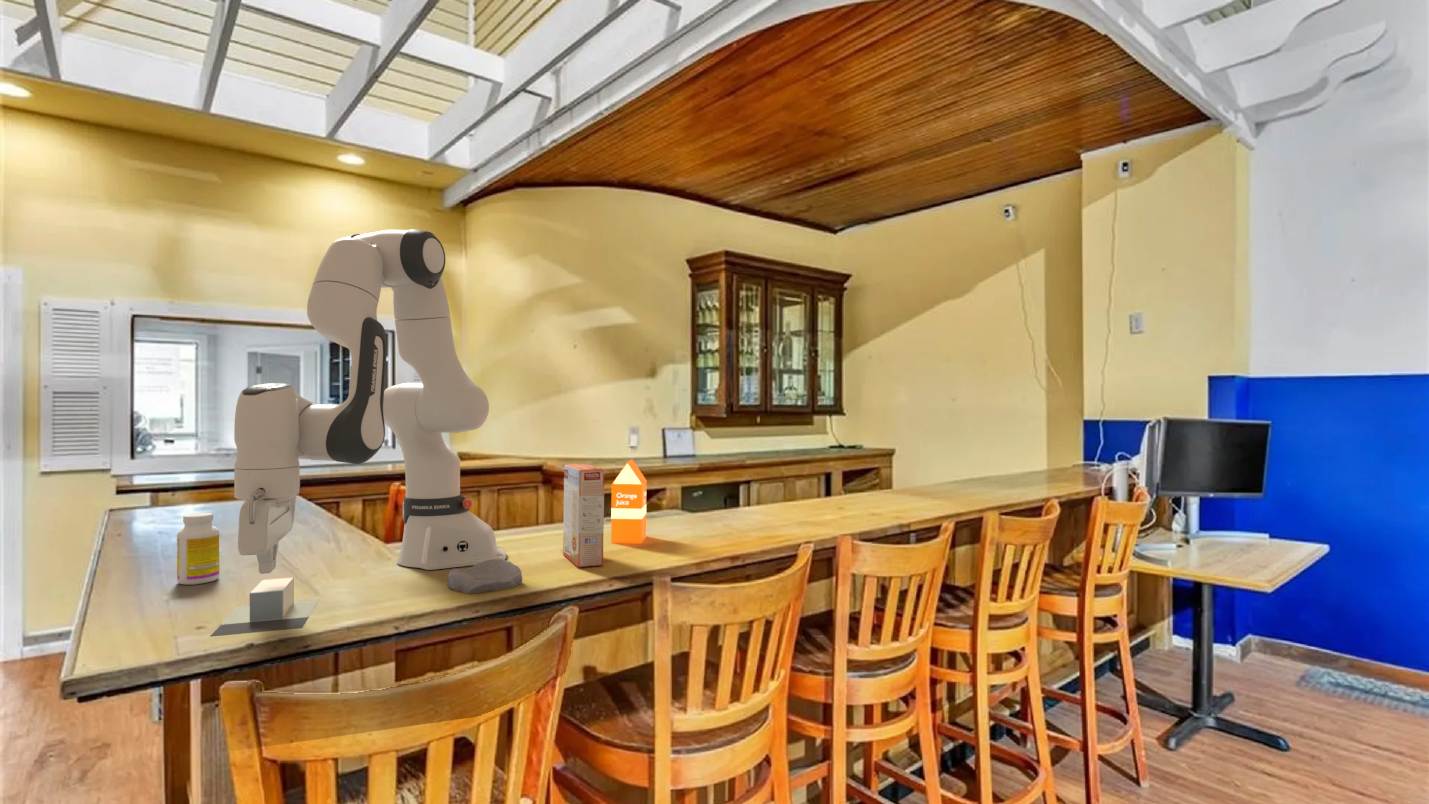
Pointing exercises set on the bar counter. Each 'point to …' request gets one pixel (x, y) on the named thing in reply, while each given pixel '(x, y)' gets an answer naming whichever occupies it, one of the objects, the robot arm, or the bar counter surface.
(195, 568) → the supplement bottle
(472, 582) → the stone block
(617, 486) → the orange juice
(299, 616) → the bar mat
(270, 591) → the pillar block
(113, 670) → the bar counter surface
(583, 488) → the cracker box
